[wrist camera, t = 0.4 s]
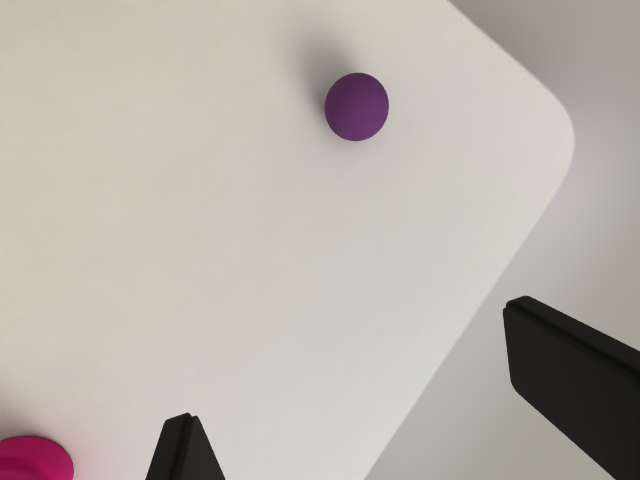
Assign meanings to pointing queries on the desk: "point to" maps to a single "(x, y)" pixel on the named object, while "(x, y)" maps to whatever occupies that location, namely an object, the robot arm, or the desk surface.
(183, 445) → the robot arm
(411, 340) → the desk surface
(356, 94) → the ball
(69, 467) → the pepper mill
